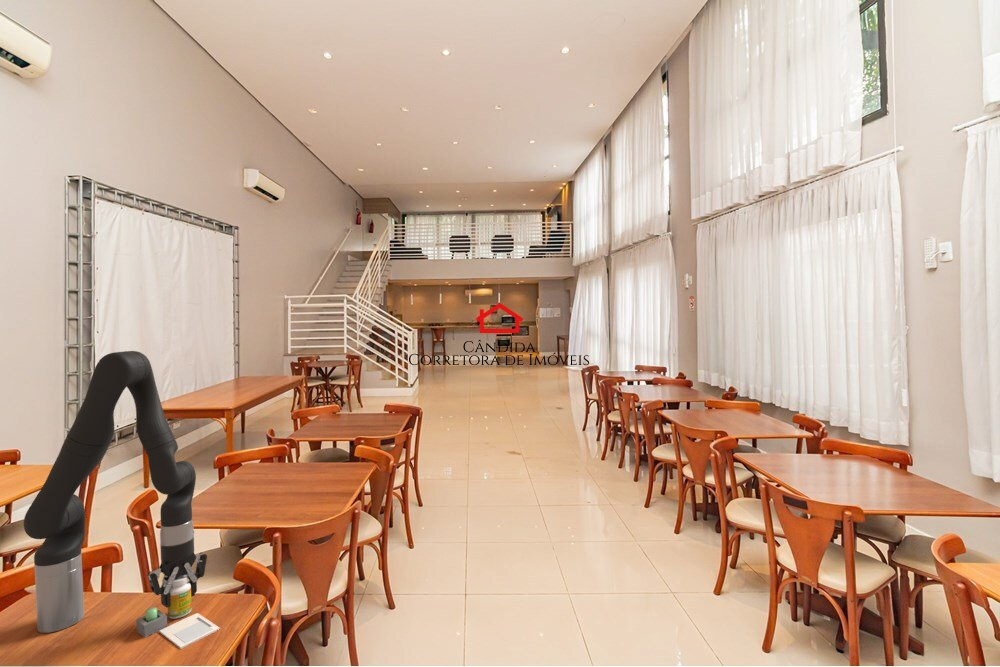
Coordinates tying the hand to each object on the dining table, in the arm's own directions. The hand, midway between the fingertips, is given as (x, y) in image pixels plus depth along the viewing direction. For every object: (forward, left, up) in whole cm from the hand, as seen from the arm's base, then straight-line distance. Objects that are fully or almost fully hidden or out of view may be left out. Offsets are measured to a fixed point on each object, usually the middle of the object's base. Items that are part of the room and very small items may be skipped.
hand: (179, 600), depth 133 cm
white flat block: (+10, -2, -4) cm, 11 cm away
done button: (+1, -7, -2) cm, 7 cm away
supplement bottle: (0, 0, -4) cm, 4 cm away
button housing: (+1, -7, -4) cm, 8 cm away
